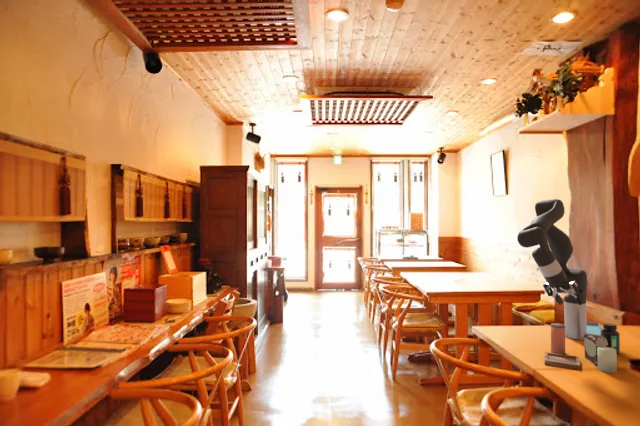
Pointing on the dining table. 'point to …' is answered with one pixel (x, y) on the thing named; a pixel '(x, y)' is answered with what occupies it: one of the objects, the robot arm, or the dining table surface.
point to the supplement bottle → (611, 336)
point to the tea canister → (557, 338)
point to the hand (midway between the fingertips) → (571, 303)
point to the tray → (562, 360)
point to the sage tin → (607, 359)
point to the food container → (593, 346)
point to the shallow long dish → (593, 328)
